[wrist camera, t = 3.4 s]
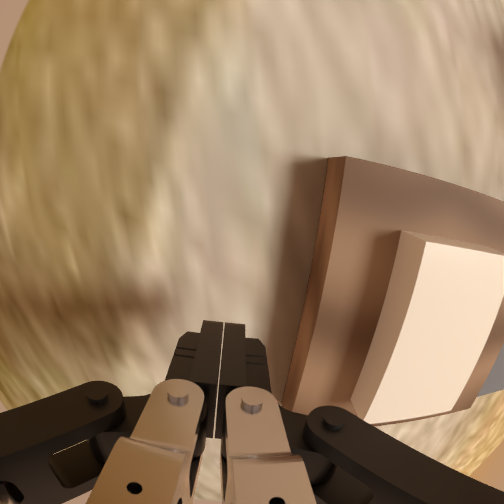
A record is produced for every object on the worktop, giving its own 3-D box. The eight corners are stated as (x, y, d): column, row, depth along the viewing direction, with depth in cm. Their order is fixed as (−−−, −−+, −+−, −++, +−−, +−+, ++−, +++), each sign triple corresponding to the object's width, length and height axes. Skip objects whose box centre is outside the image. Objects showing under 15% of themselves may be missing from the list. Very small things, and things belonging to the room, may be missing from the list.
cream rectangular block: (401, 230, 12) (426, 241, 10) (489, 246, 12) (514, 257, 10) (350, 399, 14) (361, 424, 12) (436, 390, 14) (451, 410, 12)
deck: (328, 157, 13) (346, 156, 11) (515, 210, 14) (540, 217, 12) (281, 401, 17) (286, 430, 15) (454, 389, 18) (469, 408, 15)
